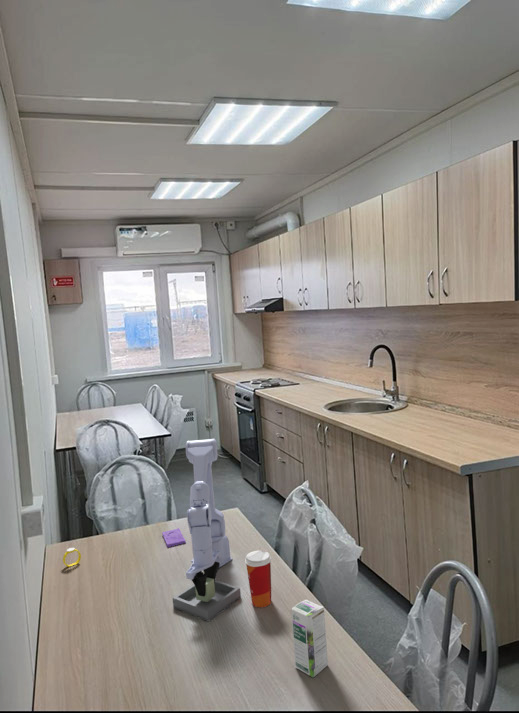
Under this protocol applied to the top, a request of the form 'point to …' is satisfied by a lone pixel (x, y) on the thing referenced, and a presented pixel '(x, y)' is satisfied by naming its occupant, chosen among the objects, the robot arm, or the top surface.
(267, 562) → the pill bottle
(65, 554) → the gold ring
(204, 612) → the tray
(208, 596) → the green block
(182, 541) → the sponges
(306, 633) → the syrup box
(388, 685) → the top surface
